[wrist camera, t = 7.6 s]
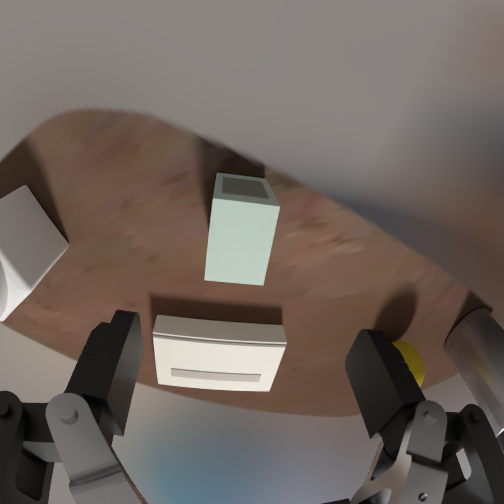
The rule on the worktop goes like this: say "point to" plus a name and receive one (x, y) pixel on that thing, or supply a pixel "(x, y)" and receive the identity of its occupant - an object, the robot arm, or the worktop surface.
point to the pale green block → (240, 229)
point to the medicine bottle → (25, 247)
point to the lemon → (412, 360)
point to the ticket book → (217, 353)
